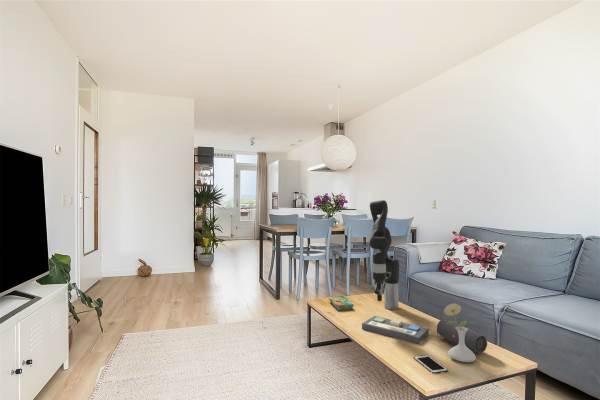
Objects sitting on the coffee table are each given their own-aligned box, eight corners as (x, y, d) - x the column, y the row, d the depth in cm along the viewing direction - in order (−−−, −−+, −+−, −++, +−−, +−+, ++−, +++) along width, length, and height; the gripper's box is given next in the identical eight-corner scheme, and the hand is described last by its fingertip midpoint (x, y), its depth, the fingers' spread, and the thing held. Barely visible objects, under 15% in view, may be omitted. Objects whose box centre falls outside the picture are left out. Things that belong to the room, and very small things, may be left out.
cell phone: (427, 356, 151) (427, 354, 151) (449, 372, 136) (449, 370, 136) (412, 358, 149) (412, 356, 149) (433, 374, 135) (433, 372, 135)
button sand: (393, 325, 185) (393, 318, 185) (402, 327, 182) (402, 320, 182) (389, 327, 181) (389, 321, 181) (398, 329, 178) (398, 323, 178)
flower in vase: (473, 355, 151) (473, 301, 151) (478, 366, 140) (477, 308, 141) (443, 351, 155) (442, 298, 156) (445, 362, 145) (445, 306, 145)
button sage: (377, 323, 191) (377, 317, 191) (385, 325, 188) (385, 319, 188) (373, 325, 187) (373, 319, 187) (381, 327, 184) (381, 321, 184)
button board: (374, 320, 196) (374, 314, 196) (428, 333, 176) (428, 327, 176) (361, 328, 184) (361, 322, 184) (418, 343, 164) (418, 336, 164)
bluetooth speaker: (435, 339, 169) (435, 319, 170) (448, 336, 173) (448, 317, 173) (474, 357, 149) (474, 336, 149) (488, 354, 152) (487, 332, 152)
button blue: (410, 331, 179) (410, 324, 179) (420, 333, 175) (420, 327, 176) (407, 334, 175) (407, 327, 175) (416, 336, 172) (416, 329, 172)
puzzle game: (336, 304, 215) (328, 295, 234) (336, 311, 215) (328, 302, 234) (353, 303, 217) (343, 294, 237) (353, 310, 217) (343, 301, 237)
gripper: (378, 268, 195) (378, 297, 195) (368, 272, 185) (368, 302, 185) (390, 269, 191) (390, 299, 191) (380, 273, 180) (380, 305, 180)
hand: (379, 300), depth 188 cm, fingers closed
